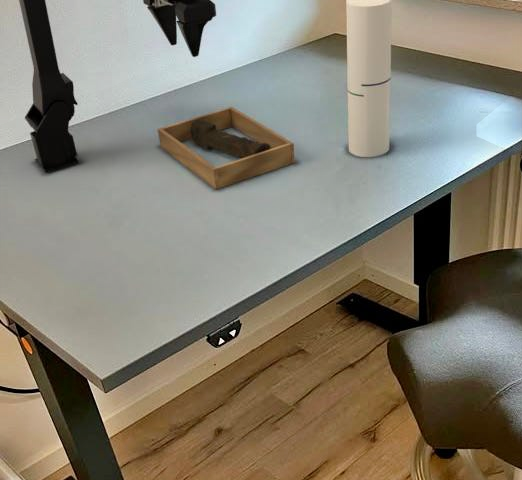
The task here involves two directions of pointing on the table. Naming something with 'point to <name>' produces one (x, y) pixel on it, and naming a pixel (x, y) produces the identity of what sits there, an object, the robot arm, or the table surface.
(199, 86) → the table surface
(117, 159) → the table surface
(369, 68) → the cylindrical container
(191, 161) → the wooden rectangular frame
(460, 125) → the table surface
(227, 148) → the dark brown long piece
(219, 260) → the table surface
